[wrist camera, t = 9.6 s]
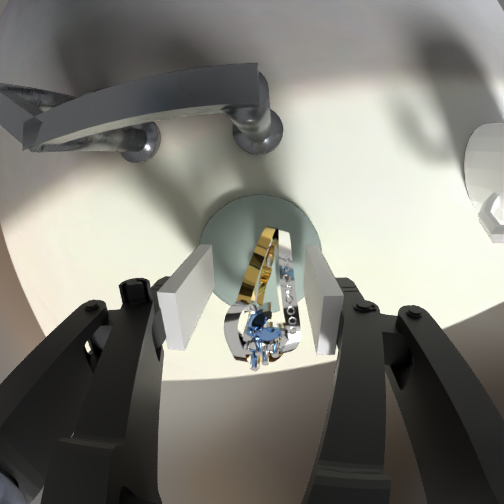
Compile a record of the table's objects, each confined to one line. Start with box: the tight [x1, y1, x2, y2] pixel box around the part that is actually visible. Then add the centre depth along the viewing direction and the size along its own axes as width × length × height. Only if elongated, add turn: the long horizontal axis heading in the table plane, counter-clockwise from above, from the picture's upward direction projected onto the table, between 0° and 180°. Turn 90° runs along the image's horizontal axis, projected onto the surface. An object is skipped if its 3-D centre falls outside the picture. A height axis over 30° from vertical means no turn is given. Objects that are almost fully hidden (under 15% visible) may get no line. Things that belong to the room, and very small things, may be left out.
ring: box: [224, 225, 301, 371], centre depth 14 cm, size 7×3×8 cm, turn 165°
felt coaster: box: [199, 195, 322, 312], centre depth 18 cm, size 8×8×1 cm
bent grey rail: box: [0, 63, 283, 162], centre depth 11 cm, size 8×15×10 cm, turn 56°
